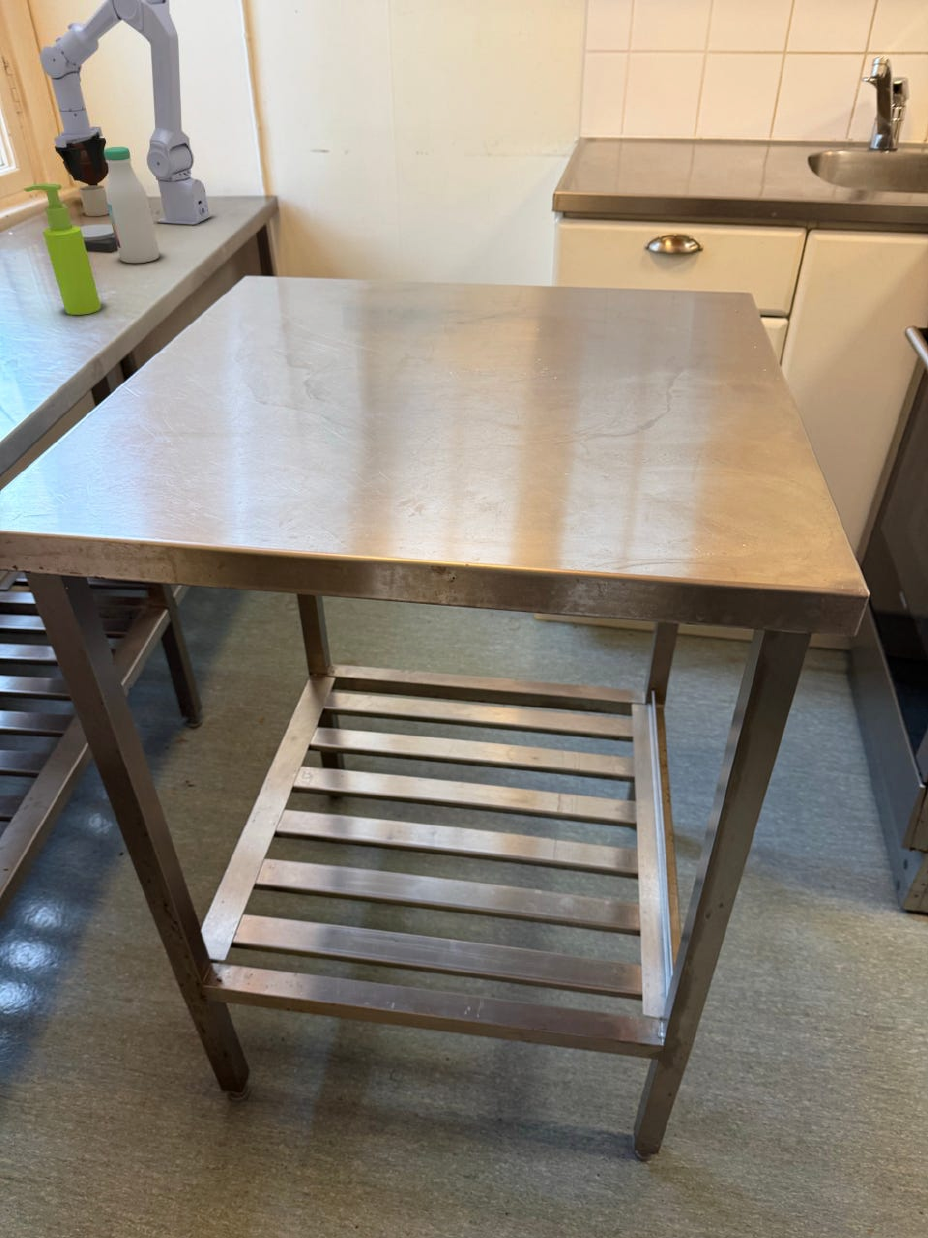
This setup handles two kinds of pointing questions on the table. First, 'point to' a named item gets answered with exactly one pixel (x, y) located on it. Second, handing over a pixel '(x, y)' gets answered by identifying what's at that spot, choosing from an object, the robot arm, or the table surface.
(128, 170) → the milk bottle
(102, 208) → the light grey cup
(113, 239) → the scale
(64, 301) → the soap dispenser
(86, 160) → the ice cream bowl
